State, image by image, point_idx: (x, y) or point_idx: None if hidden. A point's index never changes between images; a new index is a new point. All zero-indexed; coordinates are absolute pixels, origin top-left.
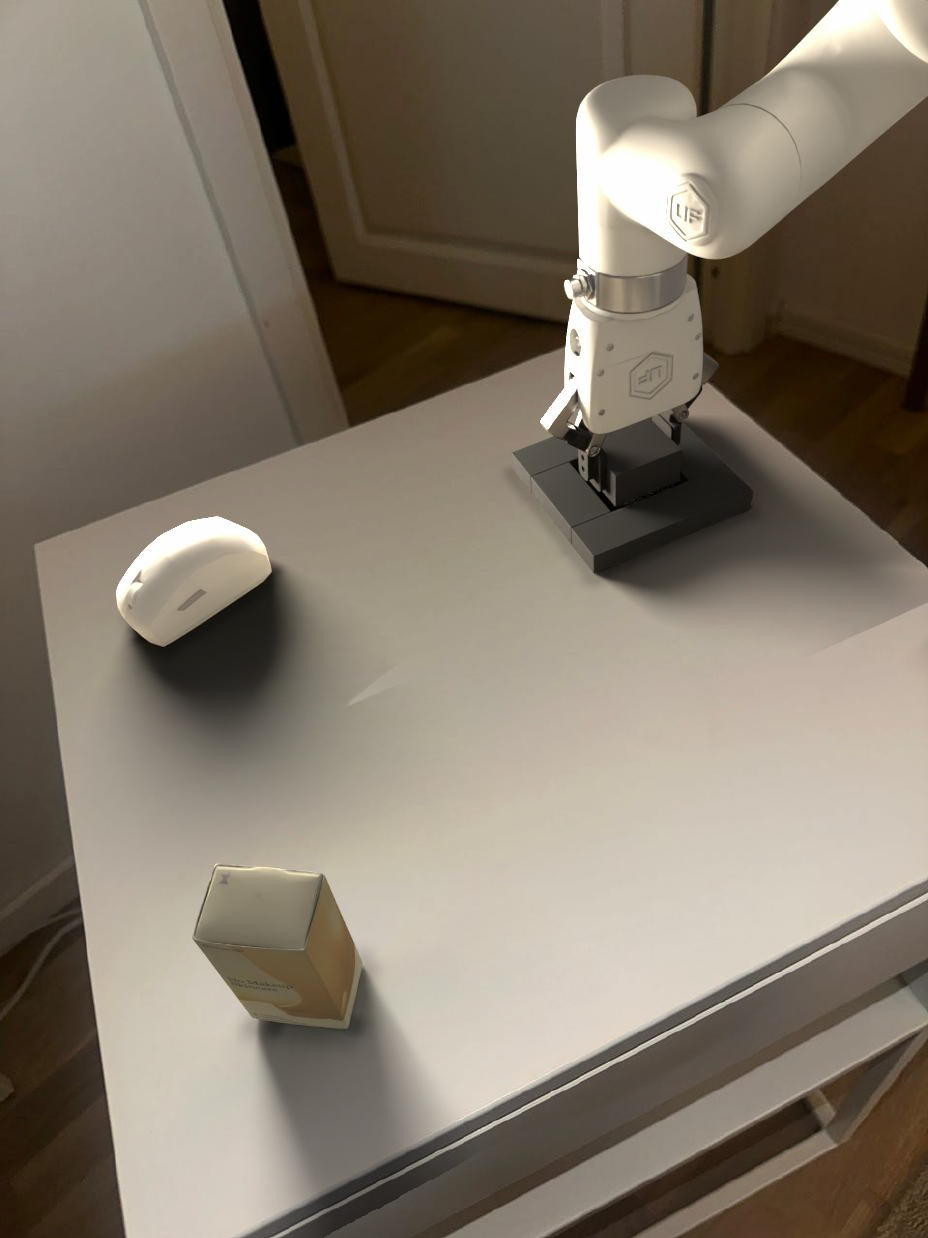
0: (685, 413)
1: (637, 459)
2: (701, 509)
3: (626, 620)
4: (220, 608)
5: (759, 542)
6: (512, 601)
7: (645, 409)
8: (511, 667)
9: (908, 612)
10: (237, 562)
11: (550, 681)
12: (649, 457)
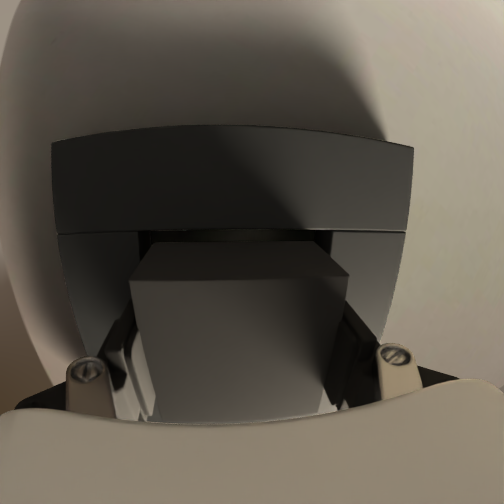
0: (77, 372)
1: (262, 306)
2: (163, 133)
3: (389, 50)
4: None
5: (110, 65)
6: (471, 178)
7: (315, 474)
8: (493, 104)
9: None
10: None
11: (474, 63)
12: (228, 297)
